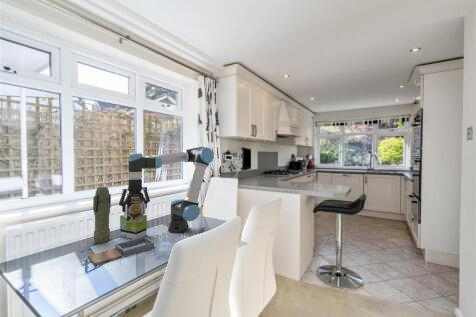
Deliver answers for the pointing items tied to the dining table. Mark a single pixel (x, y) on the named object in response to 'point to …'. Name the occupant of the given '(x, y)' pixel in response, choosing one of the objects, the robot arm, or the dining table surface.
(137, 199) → the coffee box
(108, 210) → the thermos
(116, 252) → the board
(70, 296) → the dining table surface
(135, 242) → the bin
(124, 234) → the tea box
